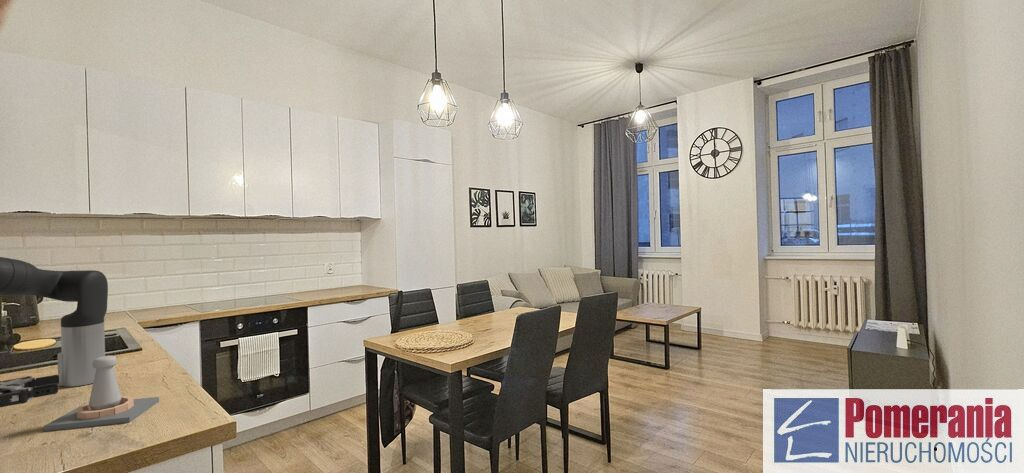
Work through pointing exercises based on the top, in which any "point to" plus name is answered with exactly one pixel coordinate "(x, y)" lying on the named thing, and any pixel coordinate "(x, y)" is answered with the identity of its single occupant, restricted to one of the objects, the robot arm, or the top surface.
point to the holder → (103, 414)
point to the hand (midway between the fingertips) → (58, 383)
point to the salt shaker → (104, 384)
